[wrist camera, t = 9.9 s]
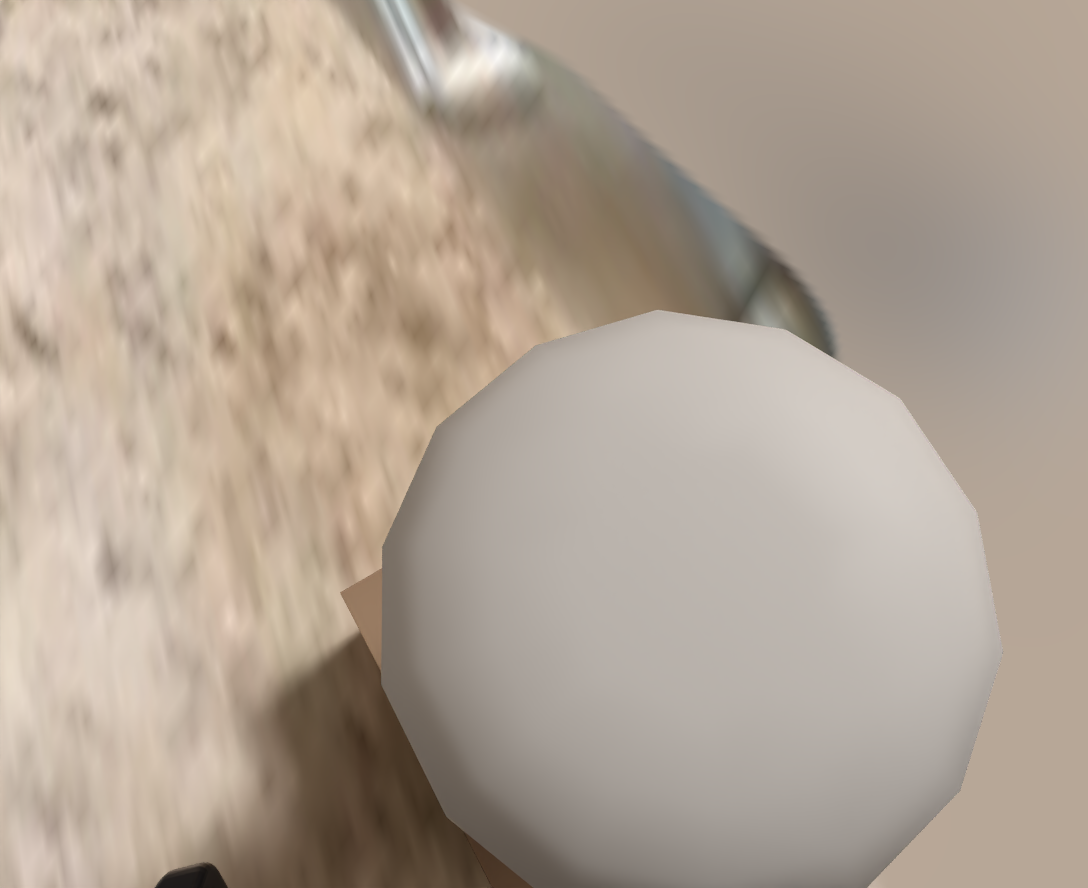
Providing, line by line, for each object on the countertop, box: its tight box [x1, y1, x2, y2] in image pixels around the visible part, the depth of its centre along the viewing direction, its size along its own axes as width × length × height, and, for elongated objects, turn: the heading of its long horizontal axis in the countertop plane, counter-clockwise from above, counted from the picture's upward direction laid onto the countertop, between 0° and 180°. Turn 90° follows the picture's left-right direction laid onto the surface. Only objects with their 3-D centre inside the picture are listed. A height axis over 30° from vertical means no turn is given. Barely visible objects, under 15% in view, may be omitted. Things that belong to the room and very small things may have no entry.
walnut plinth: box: [340, 569, 533, 888], centre depth 20 cm, size 8×8×4 cm
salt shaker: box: [381, 310, 1003, 888], centre depth 12 cm, size 6×6×13 cm
